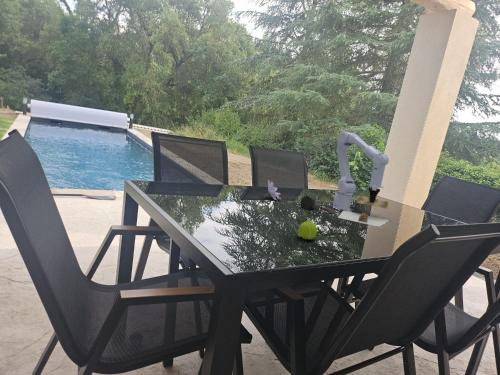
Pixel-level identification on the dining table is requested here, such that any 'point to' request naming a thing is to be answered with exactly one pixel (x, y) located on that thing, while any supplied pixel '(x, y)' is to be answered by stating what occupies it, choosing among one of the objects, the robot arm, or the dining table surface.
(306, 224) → the tennis ball
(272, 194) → the water lily
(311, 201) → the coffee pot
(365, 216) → the ridge
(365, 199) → the rod
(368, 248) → the dining table surface
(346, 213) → the slab
